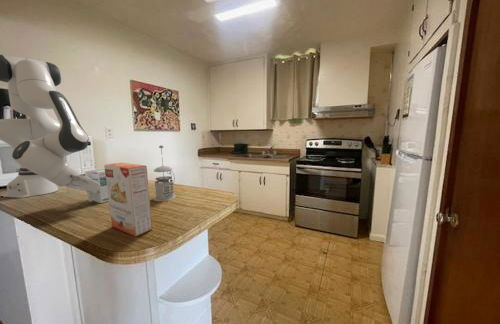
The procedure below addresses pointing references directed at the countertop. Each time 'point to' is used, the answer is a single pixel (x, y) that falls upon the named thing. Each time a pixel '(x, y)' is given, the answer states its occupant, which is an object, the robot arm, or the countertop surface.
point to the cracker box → (129, 197)
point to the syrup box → (102, 191)
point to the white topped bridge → (88, 174)
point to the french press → (164, 184)
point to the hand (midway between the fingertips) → (94, 192)
